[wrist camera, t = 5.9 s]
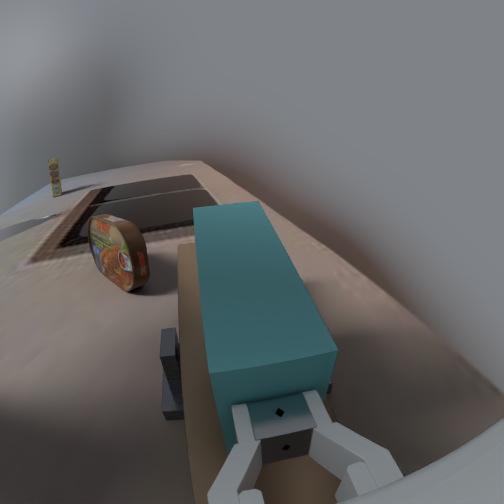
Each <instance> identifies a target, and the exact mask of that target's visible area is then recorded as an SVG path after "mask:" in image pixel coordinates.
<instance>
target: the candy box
mask: <svg viewBox="0 0 504 504" xmlns="http://www.w3.org/2000/svg"><path fill="white" fill-rule="evenodd" d="M48 162H49V171H50V178H51V185H52V192H53V197H57V196H61V195H62V190H61V182H60V175H59V167H58V160H57V158H53V159H50V160H48Z"/></svg>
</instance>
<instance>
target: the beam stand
mask: <svg viewBox="0 0 504 504" xmlns="http://www.w3.org/2000/svg"><path fill="white" fill-rule="evenodd" d="M178 343H179V342H178V337H177V333H176V329H175V328H169V329H162V331H161V345H160V359H161V362H162V366H163V401H162V412H163V414H164V417H165V419H166V420H172V419H183V418H185V417H184V406H183V393H182V379H181V362H180V358H179V353H178ZM332 384H333V383H332V381H331V379H330V382H329V386H328V389H327V393H329V392H331V389H332Z"/></svg>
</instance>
